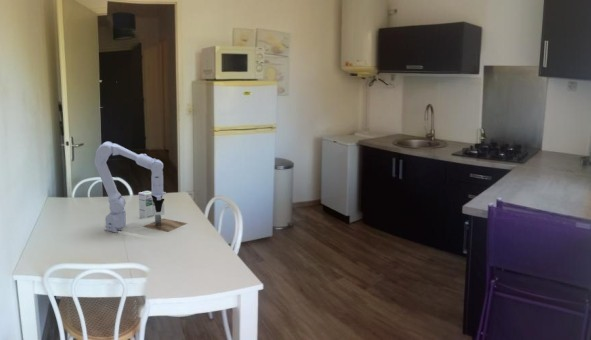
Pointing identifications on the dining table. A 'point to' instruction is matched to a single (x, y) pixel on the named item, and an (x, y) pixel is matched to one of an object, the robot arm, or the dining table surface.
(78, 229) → the dining table surface
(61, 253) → the dining table surface
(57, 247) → the dining table surface
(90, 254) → the dining table surface
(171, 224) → the board
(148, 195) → the syrup box
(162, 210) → the cube with square recess
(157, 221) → the dark grey block
